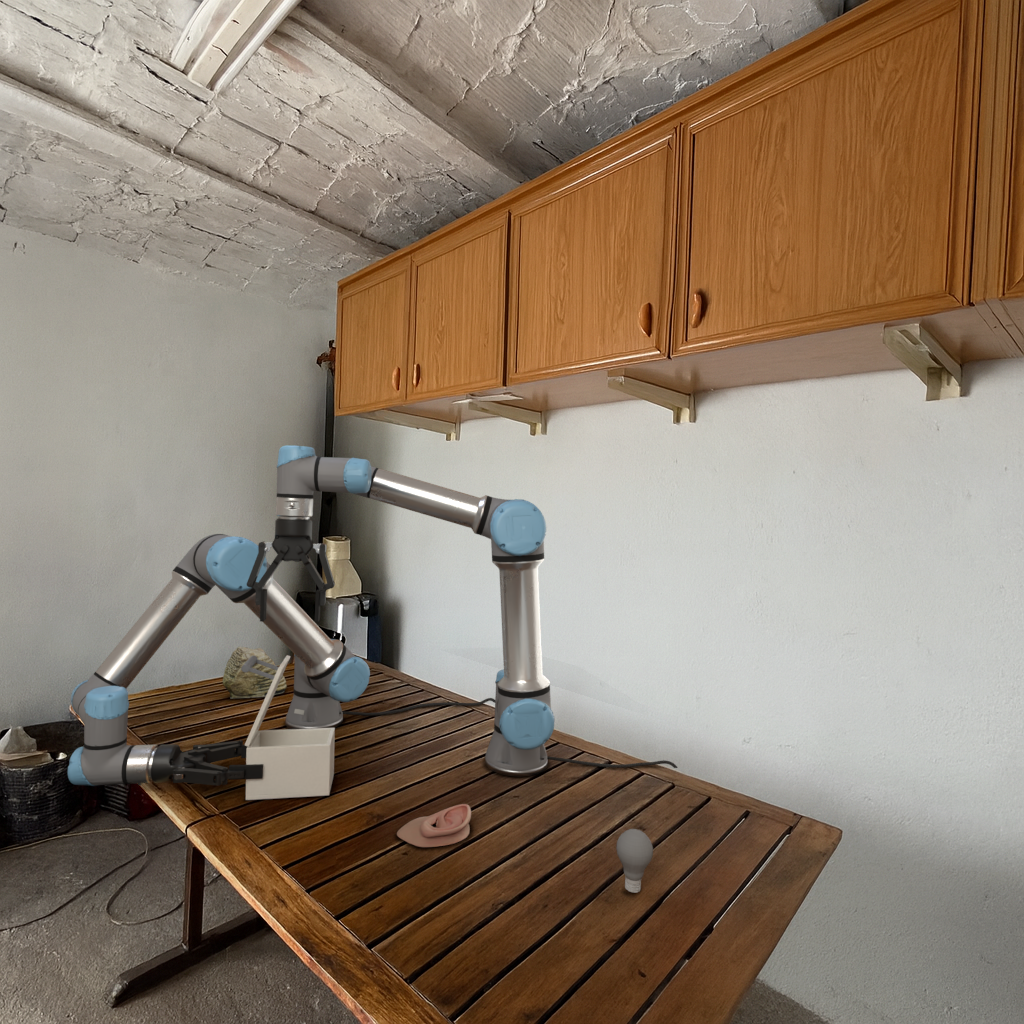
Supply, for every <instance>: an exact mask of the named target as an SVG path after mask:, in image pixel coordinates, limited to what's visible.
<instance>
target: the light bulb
mask: <svg viewBox="0 0 1024 1024" xmlns="http://www.w3.org/2000/svg"><path fill="white" fill-rule="evenodd" d="M615 849H616V854H617V857H618V859H619V861H620V863H621V865H622V867H623V873H624V874H623V875H624V876H625V878H624V888H625V890H627V891H628V892H630V893H634V894H635V893H639V892H640V891H641V889H642V887H641V886H642V879H643V877H644V875H645V871H646V868H647V867H648V866H649V864H650V863H651V861H652V859H653V855H654V847H653V843H652V841H651V838H649V836H648V835H647V834H646V833H645V832H643V831H642V830H641V829H636V828H629V829H627V830H625V831H623V832H622V833H621V834H620V835H619V837H618V839H617V841H616V847H615Z"/></svg>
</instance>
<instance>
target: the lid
mask: <svg viewBox="0 0 1024 1024" xmlns="http://www.w3.org/2000/svg"><path fill="white" fill-rule="evenodd" d="M290 659H291V655H288V654H287V655H286V656H284V658H283V660H282V661H281V663H280V664H279V665H278V666H277V665H276V664H275V665H276V666H275V665H272V664H269V663H267V662H264V661H261V660H258V659H257V657H256V656H251V657H250V658H249V659H248V660H247V661H246V663H245V664H244V665H243V666H242V668H241V670H242V671H243V672H248V671H250V672H252V673H255V674H258V675H261V676H264V677H266V678H269V679H272V680H273V681H272V684H271V686H270V688H269V690H268V693H267V695H266V696H265V697H264V700H263V702H262V703H261V706H260V709H259V710H258V713H257V715H256V718H255V720H254V722H253V724H252V727H251V729H250V731H249V734H248V736H247V738H246V741H245V743H244V745H245V746H248V747H249V745H250V743H251V742H252V740H253V738H254V737H255V735H256V733H257V731H260V728H261V725H262V723H263V721H264V719H265V716H266V715H267V712H268V710H269V707H270V705H271V703H272V700H273V698H274V697H275V695H274V693H275V691H276V689H277V687H278V684H279V682H280V680H281V678H282V675H283V676H284V672H285V671H286V668H287V666H288V664H289V662H290ZM255 663H258V664H260V665H263V666H266V667H269V668H271V669H274V670H277V672H276V674H275V676H273V675H271V674H268V673H265V672H262V671H260V670H257V669H254V668H252V667H253V665H254V664H255Z"/></svg>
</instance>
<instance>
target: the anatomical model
mask: <svg viewBox="0 0 1024 1024" xmlns="http://www.w3.org/2000/svg"><path fill="white" fill-rule="evenodd" d="M471 819H472V809H471V806H470V805H469V804H468V803H462V804H461V803H460V804H456V805H452V806H450V807H447V808H445V809H442V810H439V811H437V812H436V813H433V814H431V815H428V816H426V815H425V816H420V817H417V818H414V819H412V820H410V821H408V822H407V823H405V824H404V825H402V826H401V827H400V828H399V829H398V830H397V832H396V836H397V837H398V838H399V839H401V840H402V841H403V842H406V843H408V844H409V845H413V846H415V847H419V848H435V847H442V846H443V847H444V846H448V845H449V846H450V845H453V844H456V843H458V842H461V841H463V840H465V839H466V838H468V836H469V835H470V832H471V831H470V830H471V829H470V828H471V827H470V824H469V823H470V821H471Z"/></svg>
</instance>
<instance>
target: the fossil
mask: <svg viewBox="0 0 1024 1024" xmlns="http://www.w3.org/2000/svg"><path fill="white" fill-rule="evenodd" d="M251 656H256V657H257V659H258V660H261V661H264V662H267V663H269V664H272V665H275V666H277V665H276V663H275V662H274V660H273V659H272V658H271V657H270V656H269V655H268V654H267V653H266V652H265V650H264V649H263V648H260V647H258V648H251V647H247V646H246V647H245V646H238V647H237V648H236V649H235V650H233V651H232V653H231V656H230V657H229V659H228V660H227V663H226V666H225V668H224V671H223V675H222V676H223V677H222V685H223V687H224V688H225V690H226V691H228V693H229V698H230V699H250V698H265V697H266V695H267V693H268V690H269V688H270V686H271V684H272V681H273V680H272V679H269V678H266V677H264V676H261V675H258V674H255V673H252V672H250V671H248V672H243V671H242V670H241V668H242V666H243V665H244V664H245V663H246V661H247V660H248V659H249V658H250V657H251ZM252 668H254V669H257V670H260V671H262V672H265V673H268V674H271V675H273V676H275V674H276V672H277V670H274V669H271V668H269V667H266V666H263V665H260V664H258V663H255V664H254V665H253V667H252ZM287 687H288V686H287V680H286V678H285V676H284V674H283V675H282V678H281V680H280V682H279V684H278V687H277V689H276V691H275V693H274V696H275V695H281V694H284V693H285V691H286V689H287Z"/></svg>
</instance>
